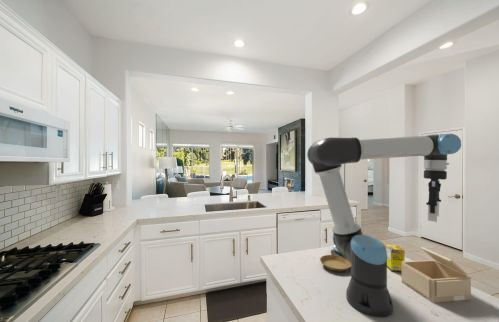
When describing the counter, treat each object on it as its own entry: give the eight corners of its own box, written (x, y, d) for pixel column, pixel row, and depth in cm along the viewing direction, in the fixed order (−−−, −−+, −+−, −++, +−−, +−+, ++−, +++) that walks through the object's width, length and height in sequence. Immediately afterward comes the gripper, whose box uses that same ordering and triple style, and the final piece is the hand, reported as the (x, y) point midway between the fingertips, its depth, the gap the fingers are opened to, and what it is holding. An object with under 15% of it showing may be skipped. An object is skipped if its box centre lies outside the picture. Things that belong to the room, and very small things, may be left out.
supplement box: (405, 272, 98) (404, 250, 98) (391, 271, 99) (391, 249, 99) (398, 266, 104) (398, 245, 104) (385, 265, 105) (385, 244, 105)
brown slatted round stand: (358, 256, 115) (358, 242, 116) (342, 260, 111) (342, 245, 111) (341, 248, 127) (341, 235, 127) (326, 251, 122) (326, 238, 122)
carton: (433, 305, 76) (433, 281, 76) (398, 281, 91) (398, 261, 91) (473, 302, 77) (473, 278, 77) (432, 278, 93) (432, 259, 93)
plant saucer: (329, 275, 96) (329, 269, 96) (315, 260, 111) (315, 255, 111) (357, 273, 98) (357, 267, 98) (340, 258, 113) (340, 253, 113)
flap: (449, 261, 78) (451, 259, 78) (420, 248, 90) (422, 246, 90) (466, 275, 79) (467, 273, 79) (435, 260, 91) (436, 258, 91)
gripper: (445, 170, 78) (444, 225, 78) (447, 170, 95) (446, 215, 95) (420, 169, 83) (418, 221, 83) (426, 169, 101) (425, 212, 101)
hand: (433, 218), depth 89 cm, fingers open, 13 cm apart
